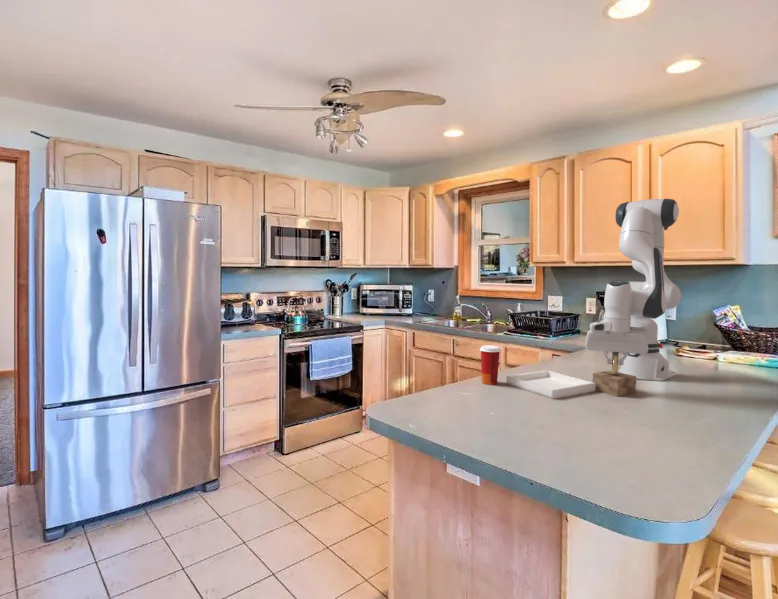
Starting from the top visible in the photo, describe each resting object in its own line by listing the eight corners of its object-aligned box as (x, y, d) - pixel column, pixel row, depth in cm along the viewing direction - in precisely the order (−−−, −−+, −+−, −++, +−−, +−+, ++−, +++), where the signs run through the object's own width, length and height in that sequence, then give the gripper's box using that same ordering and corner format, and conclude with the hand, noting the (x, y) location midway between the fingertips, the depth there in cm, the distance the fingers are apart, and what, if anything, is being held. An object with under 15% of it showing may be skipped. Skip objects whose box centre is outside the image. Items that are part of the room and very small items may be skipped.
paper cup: (498, 380, 176) (499, 345, 175) (501, 385, 169) (502, 348, 168) (477, 380, 177) (478, 344, 176) (479, 385, 170) (480, 348, 168)
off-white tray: (547, 377, 182) (547, 370, 182) (595, 391, 163) (595, 382, 163) (506, 383, 172) (506, 376, 172) (552, 399, 153) (552, 390, 152)
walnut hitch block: (609, 386, 170) (610, 370, 170) (635, 392, 161) (636, 376, 161) (592, 389, 165) (593, 373, 165) (617, 396, 156) (618, 379, 156)
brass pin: (612, 388, 165) (614, 348, 164) (620, 390, 163) (622, 349, 161) (607, 389, 164) (609, 349, 163) (614, 391, 161) (616, 350, 160)
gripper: (648, 326, 161) (646, 364, 162) (585, 323, 168) (584, 360, 169) (651, 328, 155) (649, 368, 156) (586, 325, 162) (584, 363, 163)
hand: (614, 364), depth 163 cm, fingers closed on brass pin, 2 cm apart
